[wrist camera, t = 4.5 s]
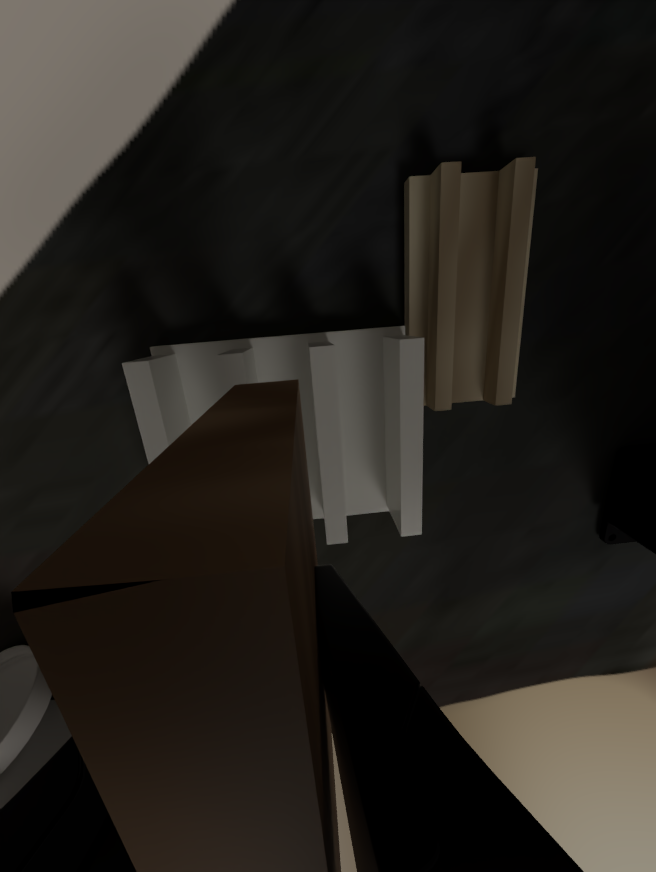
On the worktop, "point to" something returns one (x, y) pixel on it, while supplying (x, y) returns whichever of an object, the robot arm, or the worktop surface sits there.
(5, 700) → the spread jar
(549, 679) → the worktop surface
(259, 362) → the rack
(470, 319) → the stand
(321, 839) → the board
